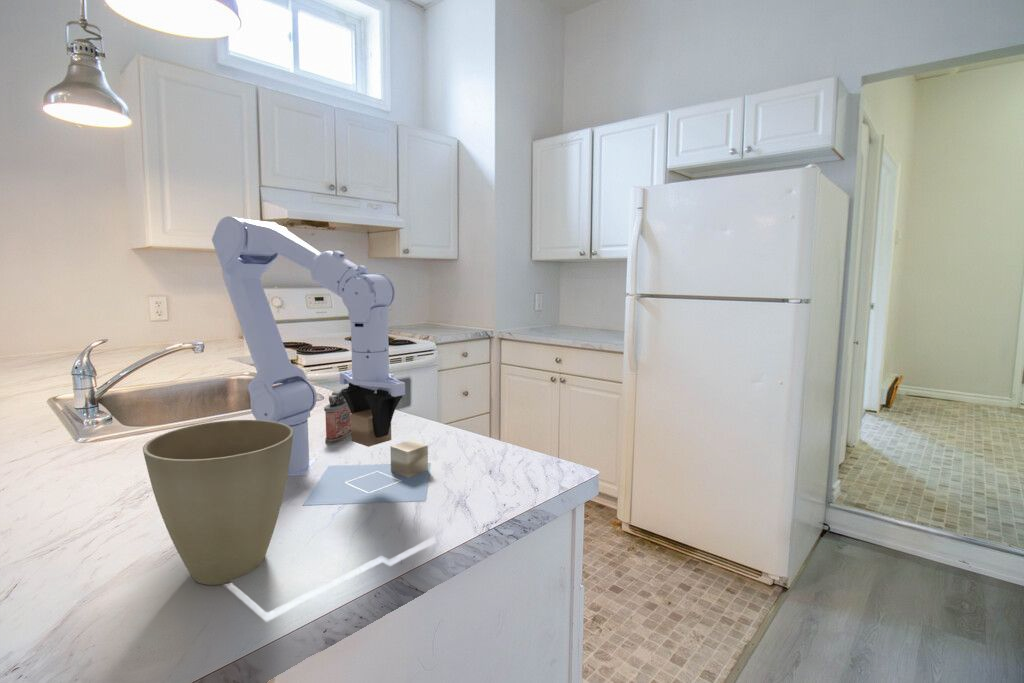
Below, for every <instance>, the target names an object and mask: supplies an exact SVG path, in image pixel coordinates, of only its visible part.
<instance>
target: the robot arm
mask: <svg viewBox="0 0 1024 683" xmlns="http://www.w3.org/2000/svg"><path fill="white" fill-rule="evenodd" d="M211 241H212V244H213V247H214V249H215V252H216V255H217V258H218V261H219V264H220V266H221V271H222V272H221V273H222V278H223V282H224V285H225V287H226V289H227V293H228V296H229V297H230V302H231V304H232V307H233V309H234V312H235V315H236V317H237V320H238V323H239V326H240V328H241V331H242V334H243V337H244V340H245V343H246V346H247V348H248V352H249V353H250V356H251V359H252V361H253V365H254V368H255V370H256V374H255V376H253V378H252V380H251V381H250V382H249V384H248V386H247V389H248V393H249V397H250V410H251V413H252V416H253V417H254V420H265V421H274V422H279V423H283V424H286V425H288V426H290V427H291V428H292V429H293V440H292V448H291V456H290V463H289V469H288V475H287V477H289V476H292V477H293V476H304V475H306V474H307V472H309V471H310V469H311V467H312V466H313V465H314V463H315V462H316V461H317V459H316V458H310V448H309V447H310V446H309V445H310V443H309V422H308V421H309V420H308V418H311V411H313V410H314V408H315V407H316V405H317V398H318V395H317V391H316V389H315V387H314V386H313V384H312V383H311V382H310V381H309V379H308V378H307V376H306V373H305V370H304V369H302V368H300V367H299V366H297V365H295V364H293V363H292V362H290V359H289V357H288V356H289V355H288V353H287V350H286V347H285V344H284V342H283V339H282V337H281V334H280V331H279V328H278V325H277V322H276V320H275V316H274V314H273V311H272V309H271V305H270V302H269V300H268V297H267V295H266V292H265V290H264V287H263V286H264V285H263V284H262V280H261V278H262V276H263V274H265V273H266V272H268V270H269V269H270V268H271V266H272V265H273V264H274V263H275V262H276V260H277V259H278V258H279V256H281V257H284V258H286V259H287V260H289V261H291V262H294V263H295V264H297V265H300V266H301V267H303V268H305V269H307V270H309V271H310V276H311V278H312V281H313V282H315V283H317V284H318V285H320V286H322V287H323V288H325V289H326V290H328V291H330V292H331V293H333V294H335V295H337V296H338V297H340V298H341V299H342V303H343V304H344V307H346V310H347V312H348V313H347V314H348V315H347V316H348V319H349V321H350V338H351V342H350V344H351V346H350V347H351V370H346V371H342V372H341V371H340V372H339V383H340V385H348V386H347V388H342V389H340V391H341V394H342V396H343V397H344V399H345V400H346V402H347V404H348V406H349V409H350V411H351V414H352V413H357V412H361V411H365V410H370V409H371V413H372V418H373V428H374V433H375V437H377V438H379V437H383V436H386V435H388V433H389V429H390V425H391V426H392V420H393V416H394V414H395V411H396V409H397V407H398V405H399V402H400V401H401V399H402V398H403V396H405V395H406V382H405V381H400V380H398V379H397V378H395V377H394V376H395V374H393V373H390V363H389V362H390V357H389V356H390V354H389V351H390V350H389V346H390V345H389V343H390V342H389V307H390V306H391V305H392V303H393V302H394V299H395V297H396V296H395V295H396V294H395V293H396V292H395V286H394V283H393V282H392V281H391V280H390V278H388V277H387V276H386V275H385V273H379V272H377V273H375V272H374V273H372V274H370V272H369V271H368V267H366V266H365V265H363V264H359V265H357V264H356V263H354V262H352V261H351V260H349V259H347V258H345V257H346V254H345V253H344V252H343V251H341V250H333V251H332V250H327V251H324V252H323V251H322V252H321V251H319V250H318V249H316V248H315V247H313V246H312V245H310V244H309V243H307V242H305V241H304V240H303V239H302V238H299V237H298V236H297V235H295V234H294V233H292V232H291V231H289V229H288V228H287V227H285V226H283V225H279V224H278V223H276V222H274V221H269V220H268V221H264V220H263V221H262V220H255V219H248V218H247V219H246V218H239V217H235V216H224V217H222V218H221V219H220V220H219V221H218V223H217V224H216V227H215V229H214V232H213V234H212V237H211ZM375 392H376V393H375Z"/></svg>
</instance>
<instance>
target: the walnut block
mask: <svg viewBox="0 0 1024 683" xmlns="http://www.w3.org/2000/svg"><path fill="white" fill-rule="evenodd" d="M350 438H351V442H354V443H356V444H360V445H362V446H364V447H368V448H370V447H372V446H375V445H379V444H382V443H386V442H390V441H392V424H391V425H390V429H389V433H388V435H386V436H383V437H379V438H377V437H375V433H374V428H373V418H372V413H371V409H370V410H365V411H361V412H357V413H352V414H351V436H350Z"/></svg>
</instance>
